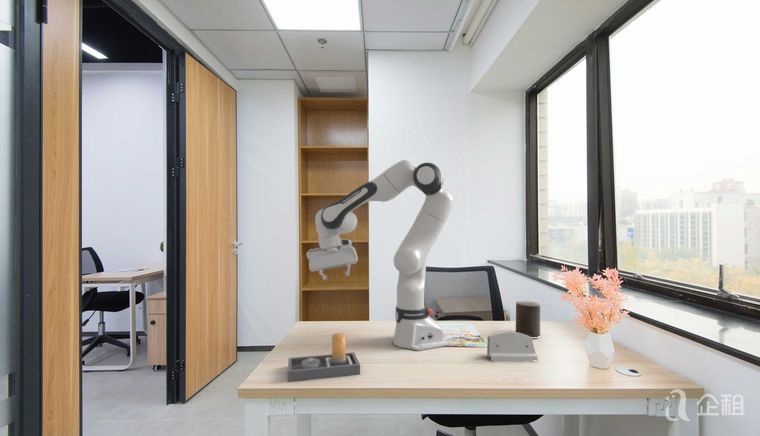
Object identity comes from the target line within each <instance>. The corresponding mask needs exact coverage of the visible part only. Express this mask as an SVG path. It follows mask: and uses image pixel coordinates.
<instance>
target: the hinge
mask: <svg viewBox="0 0 760 436" xmlns="http://www.w3.org/2000/svg"><path fill="white" fill-rule="evenodd" d="M486 347H487V348H486V350H487V351H486V357H487V358H488V357H489V358H490V361H491V362H492V361H533V360H539V359H538V355H537V353H536V349H535V346H534V343H533V339H532V338H531V337H530V336H528V335H525V334H522V333H518V332H516V331H501V332H496V333H492V334H490V335H489V336H488V337H487V346H486Z"/></svg>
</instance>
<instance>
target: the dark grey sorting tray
mask: <svg viewBox="0 0 760 436" xmlns="http://www.w3.org/2000/svg"><path fill="white" fill-rule="evenodd" d="M331 357H332V353H331V354H319V355H318V354H317V355H307V356H296V357H294V356H293V357H288V363H287V365H288V366H287V367H288V368H287V383H289V382H291V383H292V382H299V381H309V380H311V381H312V380H318V379H330V378H338V377H347V376H348V377H350V376H356V375H357V376H358V375H361V364H360V362H359V359H358V358H357V355H356V353H355V351H353V352H352V351H351V352H346V365H339V366H332V363H331Z"/></svg>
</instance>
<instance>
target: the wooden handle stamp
mask: <svg viewBox="0 0 760 436" xmlns="http://www.w3.org/2000/svg"><path fill="white" fill-rule="evenodd" d="M346 336H347V335H346V334H345V333H342V332H337V333H333V334H332V335H331V354H332V357H331V363H332V366H339V365H346V353H347V351H346V350H347V349H346V346H347V345H346V344H347V342H346V340H347V339H346Z"/></svg>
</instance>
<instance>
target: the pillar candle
mask: <svg viewBox="0 0 760 436" xmlns="http://www.w3.org/2000/svg"><path fill="white" fill-rule="evenodd" d="M515 302H516V303H515V332H518V333H522V334H525V335H528V336H530V337H538V336H540V337H541V304H540V303H538V302H535V301H529V300H528V299H526V300H524V301H523V300H521V301H519V300H518V301H515Z"/></svg>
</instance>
